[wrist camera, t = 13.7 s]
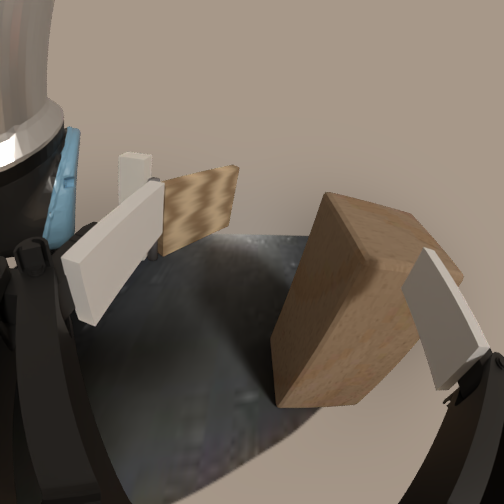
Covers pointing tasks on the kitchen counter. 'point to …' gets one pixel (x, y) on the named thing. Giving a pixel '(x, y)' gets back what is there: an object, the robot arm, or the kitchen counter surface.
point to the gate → (196, 206)
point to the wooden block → (348, 304)
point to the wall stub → (135, 182)
